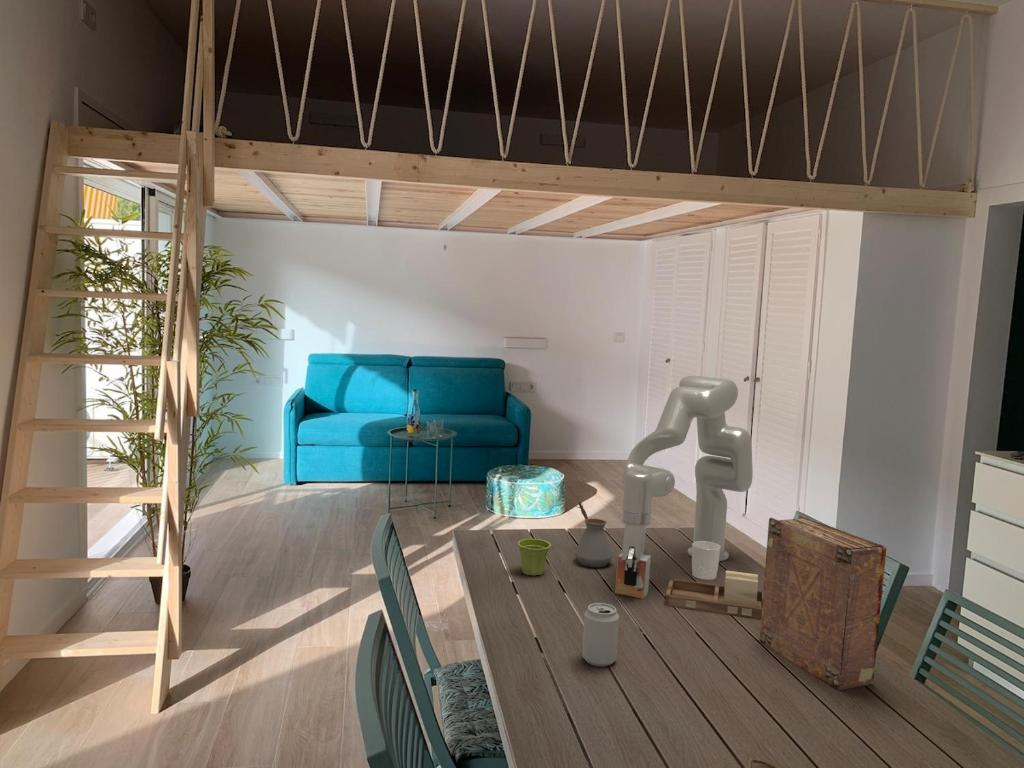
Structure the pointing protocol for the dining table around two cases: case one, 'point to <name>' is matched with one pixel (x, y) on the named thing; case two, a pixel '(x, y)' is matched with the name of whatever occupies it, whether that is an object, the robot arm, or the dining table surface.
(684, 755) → the dining table surface
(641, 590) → the small box
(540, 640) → the dining table surface
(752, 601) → the beech block
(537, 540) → the plant pot
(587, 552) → the coffee pot
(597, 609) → the can
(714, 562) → the white cup
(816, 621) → the book
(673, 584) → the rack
